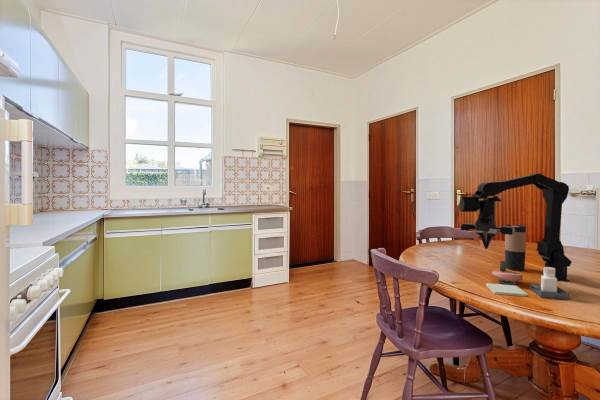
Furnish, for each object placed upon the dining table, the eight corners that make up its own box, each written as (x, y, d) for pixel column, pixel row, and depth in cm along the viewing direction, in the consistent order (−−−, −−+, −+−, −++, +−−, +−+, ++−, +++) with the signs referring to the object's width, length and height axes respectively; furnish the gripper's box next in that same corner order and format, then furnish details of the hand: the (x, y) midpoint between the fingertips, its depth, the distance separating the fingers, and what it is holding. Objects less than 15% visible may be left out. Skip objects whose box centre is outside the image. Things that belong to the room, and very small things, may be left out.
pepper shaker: (542, 295, 102) (542, 268, 102) (540, 291, 106) (541, 265, 105) (557, 297, 100) (557, 270, 99) (555, 293, 103) (555, 267, 103)
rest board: (516, 287, 110) (516, 285, 110) (527, 296, 101) (527, 294, 101) (486, 285, 113) (486, 283, 112) (494, 293, 104) (494, 291, 104)
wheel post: (512, 280, 118) (512, 275, 118) (518, 285, 112) (518, 280, 112) (495, 279, 119) (495, 274, 119) (500, 284, 114) (500, 279, 114)
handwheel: (515, 274, 119) (516, 261, 119) (527, 281, 109) (527, 268, 109) (488, 272, 122) (488, 260, 122) (497, 279, 112) (497, 266, 112)
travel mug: (519, 272, 129) (520, 227, 128) (501, 267, 135) (501, 225, 134) (528, 269, 132) (529, 226, 131) (510, 265, 139) (511, 224, 138)
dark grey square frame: (555, 291, 105) (555, 285, 105) (569, 299, 98) (569, 293, 98) (529, 289, 108) (529, 284, 108) (541, 297, 100) (541, 291, 100)
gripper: (456, 212, 124) (456, 248, 124) (509, 215, 110) (508, 255, 111) (465, 210, 131) (464, 244, 132) (515, 212, 118) (514, 250, 119)
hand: (486, 248), depth 123 cm, fingers closed
